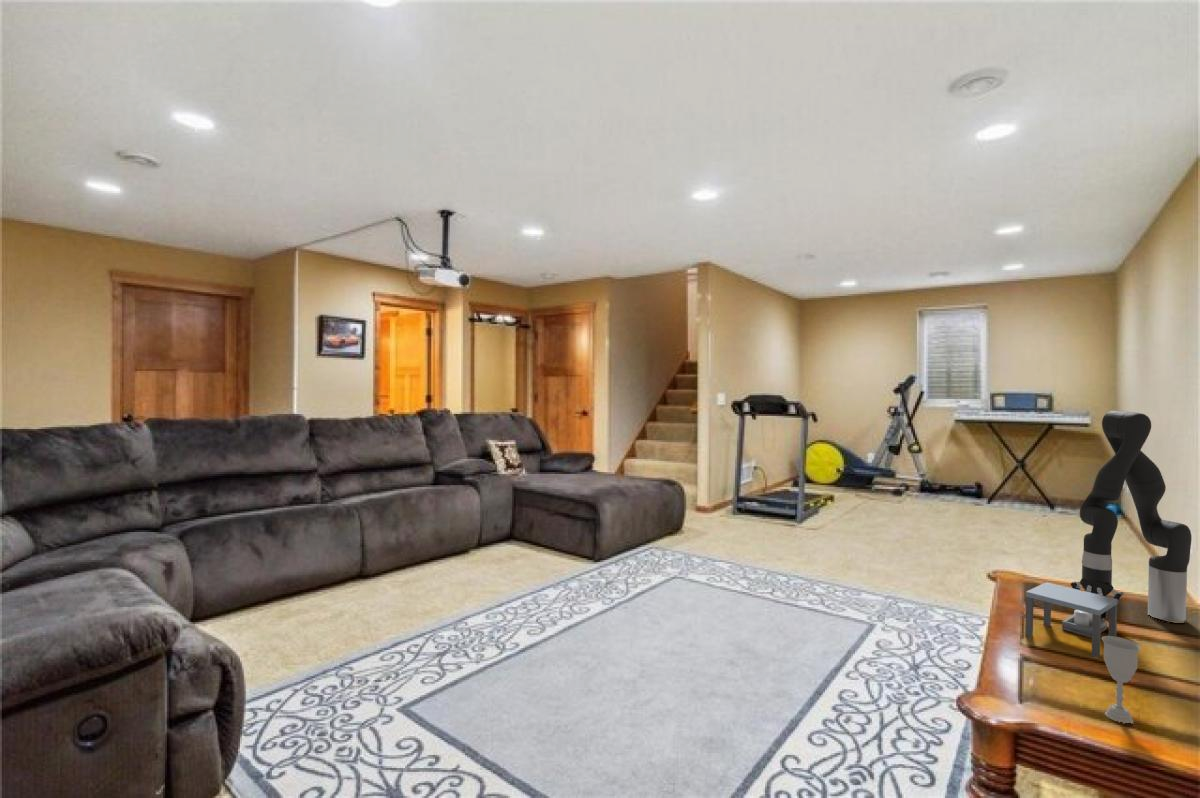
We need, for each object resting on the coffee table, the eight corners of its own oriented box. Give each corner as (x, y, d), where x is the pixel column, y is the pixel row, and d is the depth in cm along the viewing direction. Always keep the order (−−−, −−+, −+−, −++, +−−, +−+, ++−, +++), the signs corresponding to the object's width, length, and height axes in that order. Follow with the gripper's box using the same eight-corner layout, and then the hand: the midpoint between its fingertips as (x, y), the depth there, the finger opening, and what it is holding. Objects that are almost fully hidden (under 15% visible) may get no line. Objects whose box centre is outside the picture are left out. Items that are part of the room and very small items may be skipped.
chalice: (1147, 728, 131) (1149, 651, 131) (1112, 724, 133) (1114, 648, 132) (1124, 710, 139) (1126, 637, 138) (1092, 707, 140) (1094, 634, 139)
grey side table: (1045, 623, 189) (1046, 582, 189) (1116, 644, 174) (1117, 599, 174) (1025, 635, 180) (1026, 591, 180) (1098, 658, 165) (1099, 610, 165)
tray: (1083, 615, 195) (1083, 595, 195) (1113, 623, 188) (1113, 602, 188) (1062, 629, 185) (1062, 607, 185) (1093, 638, 178) (1093, 616, 178)
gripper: (1128, 569, 186) (1127, 621, 187) (1074, 558, 198) (1073, 607, 198) (1120, 573, 182) (1119, 627, 183) (1066, 562, 194) (1065, 612, 194)
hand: (1095, 616), depth 190 cm, fingers closed on tray, 3 cm apart
